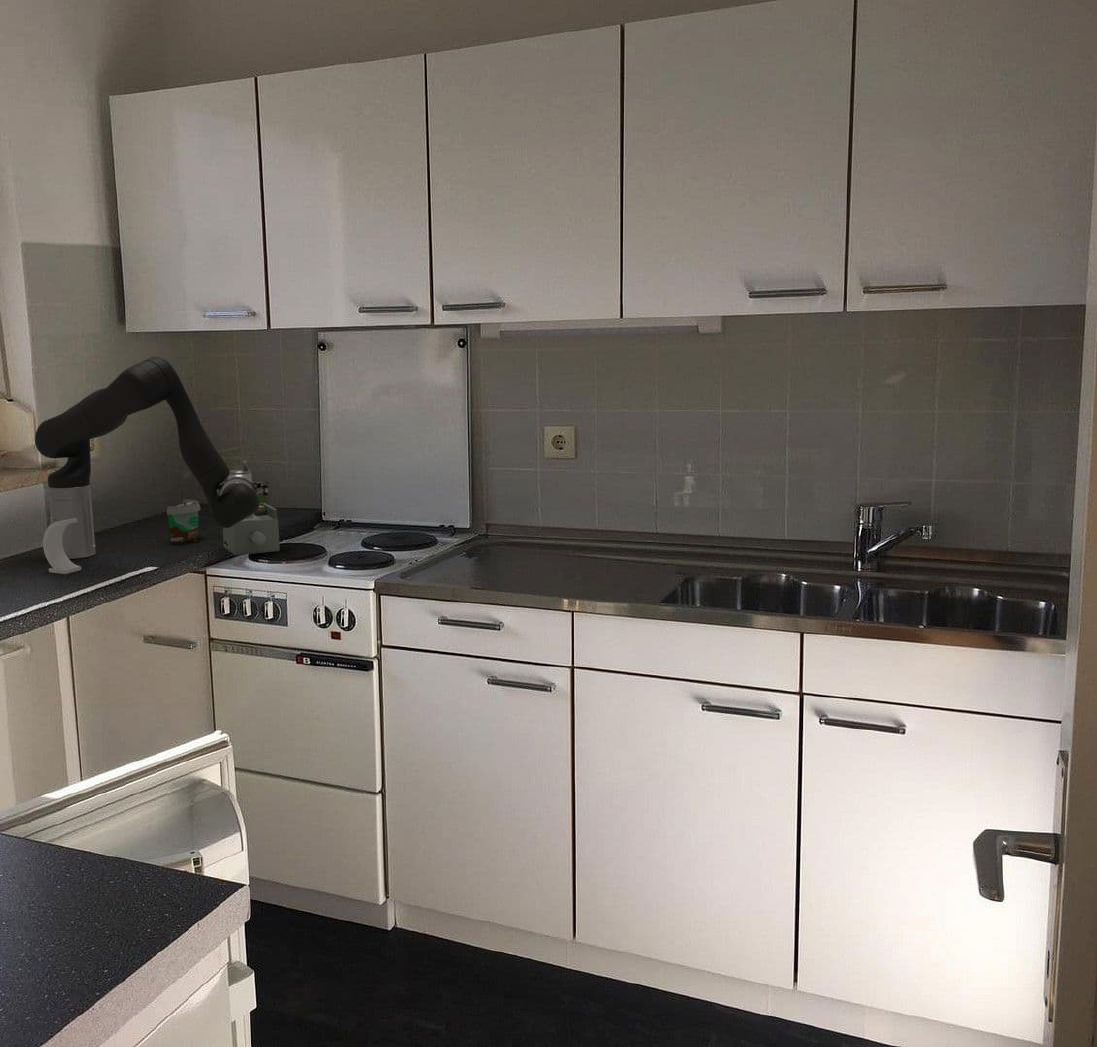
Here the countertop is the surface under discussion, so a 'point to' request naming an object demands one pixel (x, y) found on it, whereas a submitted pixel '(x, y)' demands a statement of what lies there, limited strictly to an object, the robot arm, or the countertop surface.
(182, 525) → the food container
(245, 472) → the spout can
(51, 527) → the headphone stand
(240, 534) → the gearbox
